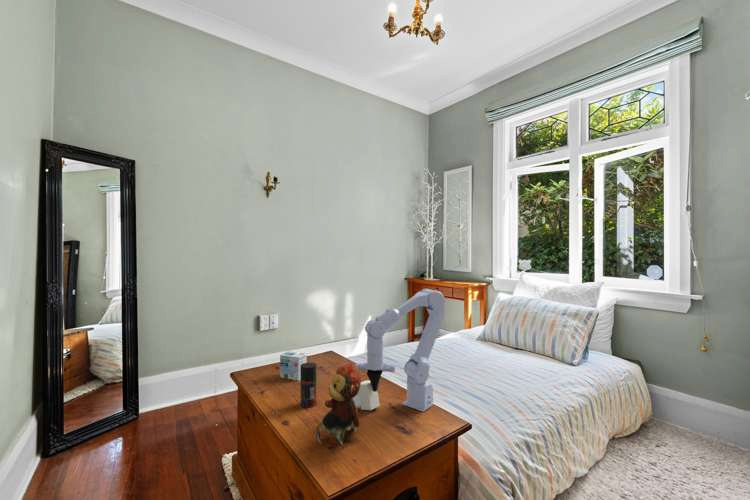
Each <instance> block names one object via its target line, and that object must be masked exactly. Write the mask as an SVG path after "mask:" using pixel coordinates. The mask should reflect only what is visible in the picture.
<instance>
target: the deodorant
mask: <svg viewBox="0 0 750 500" xmlns="http://www.w3.org/2000/svg"><path fill="white" fill-rule="evenodd" d="M317 402H318V401H317V363H315V362H307V363H304V364H301V380H300V407H302V408H304V409H305V408H306V409H311V408H314V407H315V406H317Z"/></svg>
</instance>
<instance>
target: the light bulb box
mask: <svg viewBox="0 0 750 500" xmlns="http://www.w3.org/2000/svg"><path fill="white" fill-rule="evenodd" d="M307 356H308V355H307V353H305V352H298V351H290V350H289V351H286V352H284V353H282V354H280V355H279V359H280V360H279V366H280V367H279V378H280V377H281V379H285V378H287V380H290V379H292V381H296V380H297V381H296V382H300V381H301V364H304V363H308V362H307V358H308V357H307Z"/></svg>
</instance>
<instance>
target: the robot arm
mask: <svg viewBox="0 0 750 500" xmlns="http://www.w3.org/2000/svg"><path fill="white" fill-rule="evenodd" d="M446 302H447V300H446V298H445V296H444V294H443V293H442V292H441V291H439V290H434V289H430V288H423V289H422V290H420V291H418V292H416V294H414V295H413V296H412V297H411V298H409V299H408V300H406V301H404V302H403V303H402V304H401V305H399V306H398V307H397V308H392V307H391V308H387V309H385V312H383V313H382V314H381V315H378V316H377V315H376V316H375V319H371V320H368V321H367V323H366V324H365V326H364V330H365V332H366V333H367V335H366V336H367V340H366V347H367V348H366V351H367V352H366V358H367V361H366V362H360V363H358V362H357V363H355V365H356V366H357V368H358V369H359V371H367V372H366V376H367V377H368V379H369V380H370V382H371V385H372V389H373V391H375V392H377V391H378V388H379V383H380V380H381V377H382V374H383V372H387V373H389V372H390V373H393V374H394V373H395V371H396V366H395V365H391V364H385V363H383V362H384V361H383V360H384V358H383V357H384V354H383V353H384V347H383V345H384V344H383V343H384V342H383V341H384V340H383V339H384V338H383V336H384V335H385V333H386V331H388V330H389V329H391V328H392V327H394V326H395V325H397V324H398V323H400V322H401V319H402V317H403V316H404V315H406V314H408V313H410V312H411V311H413V310H415V309H416V308H418V307H425V308H426V310H427V313H428V314H429V315H428V318H427V321H426V323H425V326H424V329H423V331H422V334H421V336H420V340H419V342H418V344H417V347H416V350H415V352H414V353H413V354H412V355H410V357H409V359H408V360H407V361H406V362H405V363H404V368H403V371H404V373H405V374H406V400H405V401H404V402H402V404H401V405H403V406H406V407H408V408H412V409H415V410H417V411H420V412H425V411H426V410H428V409H429V408H431V407H432V406H434V405H435V403H434V400H433V399H434V388H433V385H432V384H430V383H428V382H427V380H428V379H429V377H430V373H429V371H430V367H431V364H430V360H429V358H430V356H431V353H432V350H433V348H434V345H435V342H436V340H437V337H438V335H439V332H440V329H441V327H442V323H443V321H444V319H445V316H446V314H445V312H446V311H445V305H446V304H445V303H446Z"/></svg>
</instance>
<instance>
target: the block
mask: <svg viewBox="0 0 750 500" xmlns="http://www.w3.org/2000/svg"><path fill="white" fill-rule="evenodd" d="M358 395H359V399H360V405H361V408H360V410H362V411H363V410H364V411H372V410H375V409H376V408H378V407H379V406H381V403H380V399H379V393H378V390H377V392H375V391H373V389H372V385H371V382H370V380H364V381H361V384H360V389H359V392H358Z"/></svg>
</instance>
